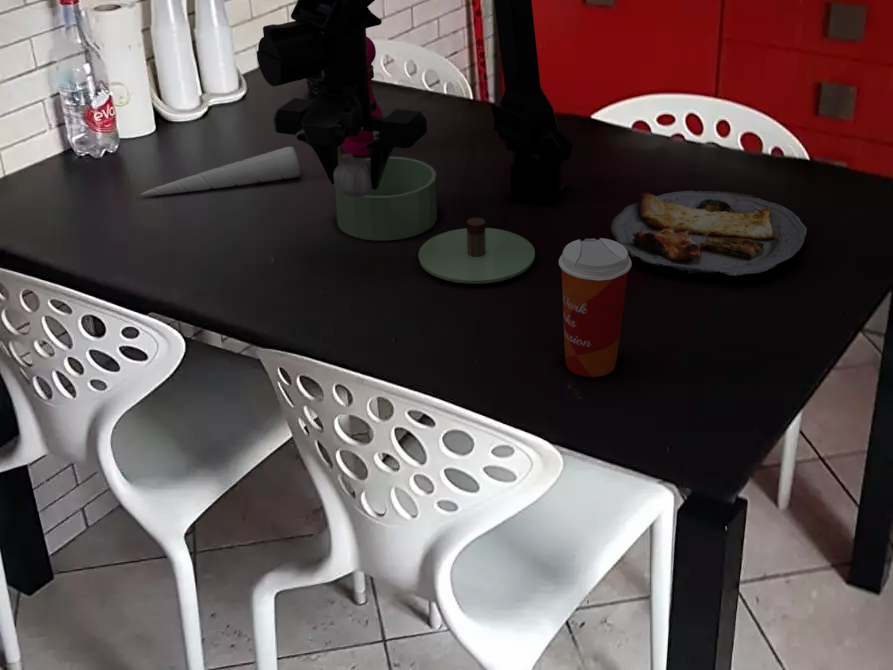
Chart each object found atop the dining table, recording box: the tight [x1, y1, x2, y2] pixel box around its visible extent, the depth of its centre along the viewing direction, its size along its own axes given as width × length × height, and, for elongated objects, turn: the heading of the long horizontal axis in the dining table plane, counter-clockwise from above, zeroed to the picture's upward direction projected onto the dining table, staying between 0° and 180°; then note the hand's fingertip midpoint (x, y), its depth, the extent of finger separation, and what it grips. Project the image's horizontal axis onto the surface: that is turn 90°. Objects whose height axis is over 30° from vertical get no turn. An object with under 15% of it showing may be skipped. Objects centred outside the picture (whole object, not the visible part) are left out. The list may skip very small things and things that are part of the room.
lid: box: [417, 217, 536, 285], centre depth 151 cm, size 15×15×6 cm
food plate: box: [609, 190, 808, 277], centre depth 154 cm, size 25×23×4 cm
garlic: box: [333, 152, 372, 196], centre depth 148 cm, size 6×5×5 cm
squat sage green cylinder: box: [332, 156, 439, 242], centre depth 162 cm, size 14×14×6 cm
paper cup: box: [558, 237, 633, 378], centre depth 126 cm, size 8×8×14 cm
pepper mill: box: [342, 35, 384, 157], centre depth 182 cm, size 7×7×20 cm
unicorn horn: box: [140, 145, 301, 196], centre depth 175 cm, size 5×24×5 cm, turn 103°
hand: (354, 185), depth 149 cm, fingers closed on garlic, 5 cm apart
